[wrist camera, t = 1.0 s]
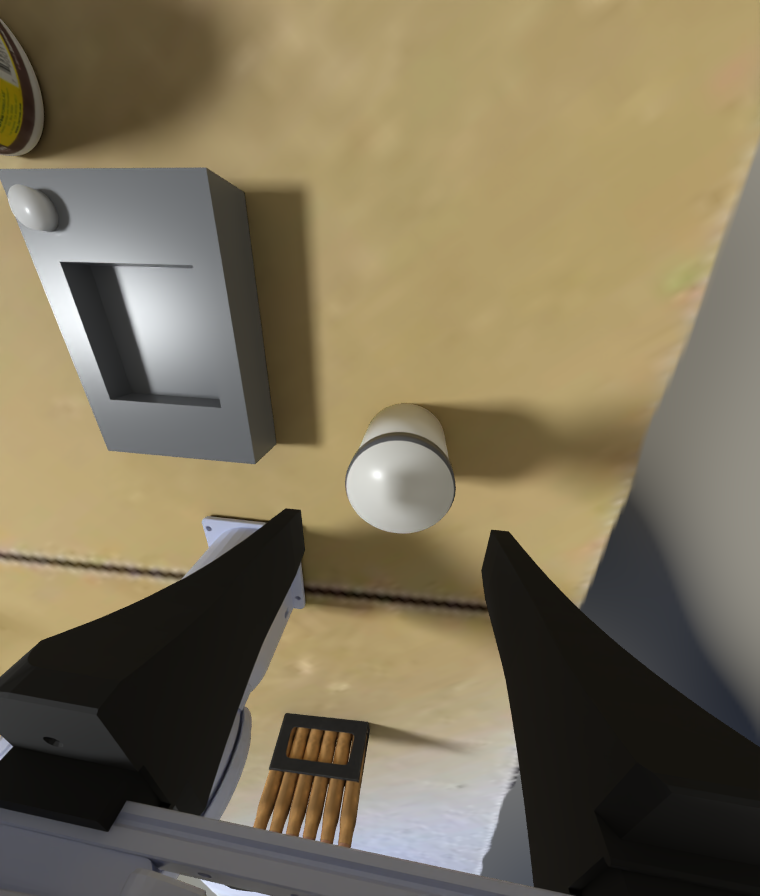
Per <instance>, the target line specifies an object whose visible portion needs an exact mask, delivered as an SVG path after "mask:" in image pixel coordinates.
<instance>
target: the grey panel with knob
mask: <svg viewBox="0 0 760 896" xmlns="http://www.w3.org/2000/svg"><path fill="white" fill-rule="evenodd" d="M0 180H1V182H2V185H3V187H4V190H5V192H6V195H7V197H8V202H9V205H10V208H11V210H12V212H13V214H14V215H15V217H16V220H17V222H18V225H19V227H20V230H21V232H22V235H23V237H24V240H25V243H26V245H27V248H28V250H29V253H30V255H31V258H32V260H33V263H34V265H35V268H36V270H37V273H38V275H39V278H40V280H41V283H42V285H43V288H44V290H45V293H46V295H47V298H48V300H49V303H50V305H51V308H52V310H53V313H54V315H55V318H56V320H57V323H58V325H59V328H60V330H61V333H62V335H63V338H64V340H65V343H66V345H67V348H68V350H69V353H70V356H71V358H72V361H73V363H74V366H75V368H76V371H77V373H78V376H79V378H80V381H81V383H82V386H83V388H84V391H85V393H86V396H87V398H88V401H89V403H90V406H91V408H92V411H93V413H94V416H95V418H96V421H97V423H98V426H99V428H100V431H101V433H102V436H103V438H104V441H105V443H106V446H107V448H108V451H118V452H129V453H140V454H151V455H162V456H172V457H183V458H194V459H205V460H216V461H226V462H237V463H248V464H256V463H257V462H258V461H259V460H260V459H261V458H262V457H263V456H264V455H265V454H266V453H268V452H269V451H270V450H271V449H272V448H273V447H274V446H275V445H276V437H275V430H274V422H273V414H272V406H271V398H270V390H269V382H268V375H267V367H266V359H265V351H264V343H263V335H262V328H261V320H260V312H259V304H258V296H257V288H256V280H255V273H254V265H253V257H252V249H251V241H250V233H249V226H248V218H247V210H246V202H245V194H244V192H243V191H242V190H240V189H239V188H237V187H235V186H234V185H232V184H231V183H229V182H228V181H226V180H225V179H223V178H221V177H220V176H218V175H217V174H215V173H214V172H212V171H210V170H209V169H207V168H84V169H0Z"/></svg>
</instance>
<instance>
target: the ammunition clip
mask: <svg viewBox="0 0 760 896" xmlns="http://www.w3.org/2000/svg"><path fill="white" fill-rule="evenodd" d="M369 732H370V729H369V724H368V722H364V721H354V720H345V719H336V718H327V717H318V716H308V715H299V714H290V713H286V714H285V716H284V719H283V723H282V726H281V729H280V733H279V736H278V740H277V743H276V746H275V750H274V753H273V757H272V760H271V763H270V767H269V770H270V771H269V774H268V777H267V780H266V783H265V787H264V790H263V793H262V796H261V799H260V802H259V806H258V810H257V816H256V819H255V823H254V826H253V827H254V828H258V829H263V830H266V827H267V824H268V821H269V819H270V816H271V814H272V812H273V809H274V812H273V818H272V822H271V826H270V830H269V831H272V832H277V833H282V831H283V828H284V824H285V821H286V819H287V816H288V814H289V811H290V815H289V822H288V827H287V831H286V834H287V835H291V836H296V837H298V836H299V832H300V828H301V825H302V822H303V819H304V817H305V813H306V820H305V828H304V833H303V838H305V839H310V840H315V839H316V834H317V830H318V826H319V823H320V820H321V817H322V813H323V807H324V802H325V797H326V792H327V787H328V784H329V787H328V792H327V797H326V803H325V808H324V813H323V824H322V833H321V839H320V842H324V843H329V844H333V840H334V835H335V830H336V827H337V824H338V820H339V814H340V808H341V802H342V796H343V790H344V787H345V791H344V797H343V804H342V810H341V817H340V833H339V841H338V846H343V847H348V848H350V847H351V843H352V836H353V832H354V828H355V824H356V818H357V810H358V802H359V795H360V788H361V782H362V776H363V770H364V763H365V757H366V751H367V745H368V739H369ZM351 741H352V745H351ZM336 742H337V744H336ZM335 747H336V750H335ZM350 747H351V752H350ZM334 752H335V755H334ZM349 753H350V758H349ZM318 757H319V758H318ZM333 757H334V760H333ZM348 759H349V762H348ZM332 762H333V764H332ZM312 783H313V785H312ZM295 788H296V789H295ZM311 788H312V789H311ZM294 792H295V793H294ZM310 792H311V794H310ZM293 796H294V797H293ZM309 796H310V798H309ZM276 799H277V800H276ZM292 800H293V801H292ZM308 801H309V803H308ZM291 803H292V805H291ZM307 805H308V807H307ZM274 806H275V807H274ZM290 807H291V809H290ZM306 809H307V812H306Z"/></svg>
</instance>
